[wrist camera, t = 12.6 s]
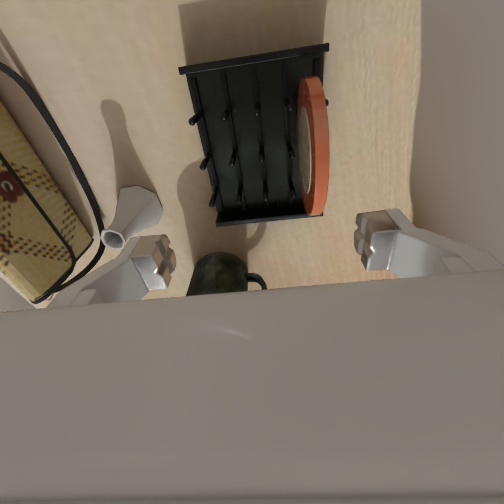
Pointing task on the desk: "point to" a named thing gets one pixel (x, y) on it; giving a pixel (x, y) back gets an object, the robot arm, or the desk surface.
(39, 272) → the clutch purse
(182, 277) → the desk surface
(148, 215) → the flask
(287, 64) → the rack
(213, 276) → the mug
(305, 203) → the plate
